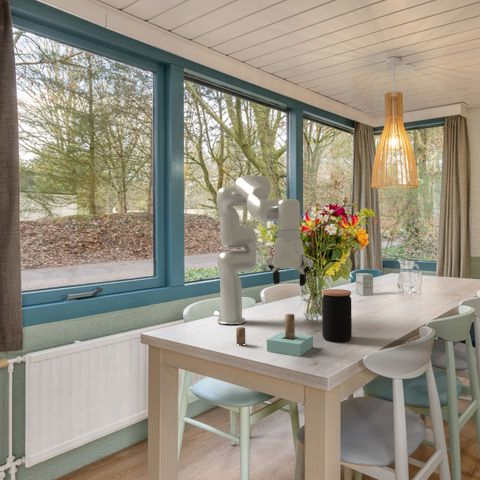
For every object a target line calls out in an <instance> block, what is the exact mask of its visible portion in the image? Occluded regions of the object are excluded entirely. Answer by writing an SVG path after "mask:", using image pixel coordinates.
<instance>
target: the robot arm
mask: <svg viewBox="0 0 480 480" xmlns="http://www.w3.org/2000/svg"><path fill="white" fill-rule="evenodd" d="M271 189H272V185H271V181H270V180H269V178H268V177H267V176H264V175H250V174H247V175H242V176H240V177H237V179H236V181H235V184H234V185H232V186H230V185H229V186H223V187H221V188H219V189H218V191H217V194H216V205H217V206H216V207H217V209H218V210H217V211H218V214H219V229H220V230H219V231H220V233H219V236H220V243H221V246H222V247H223V248H228V249H231V248H233V249H234V248H235V249H237V248H240V249H241V248H242V250H226V251H223V252H221V253H220V254H219V255H218V256H217V261H216V262H217V268H218V273H219V288H220V289H219V292H220V295H219V296H220V297H219V298H220V300H219V301H220V302H219V303H220V305H219V306H220V311H218V310H217V311H214V313H213V316H214V317H218V319H217V322H218V324H219V323H222V324H238V323H243V322H245V321H247V319H246V318H245V317H243V302H242V301H243V293H242V291H243V289H242V287H243V285H242V280H241V278H240V277H239V276H238V274H237V273H242V272H243V273H244V272H245V273H246V272H252V271H253V270H255V268H256V267H257V237H256V231H255V230H254V228H252V227H251V226H248V225H240V215H239V213H238V211H237V209H236V208H235V207H246V208H247V211H248V213H249V214H250V215H251V216H252V217H254V219H256V220H258V221H261V222H267V221H268V222H269V221H270V222H271V221H275V222H277V231H275V232H274V236H277V238H276V239H275V240H274V241H275V242H274V247H273V256H271V257H268V258H267V259H266V260H265V262H266V264H267V266H268V268H269V270H270V271H271V273H272V279H273V281H272V282H273V284H274V285H279V284H280V283H281V282H280V276H281V275H280V273H281V272H280V271H279V270H280V269H289V270H291V269H295V270H296V269H297V270H298V271H299V273H300V274H299V286H300V287H303V286H306V283H307V273H309V271H310V270H311V269H312V266H313V265H314V260H311V259H310V258H308V257H307V256H305V250H304V249H305V248H304V244H303V239H302V238H301V206H300V205H301V203H300V201H299V200H298V199H295V198H285V199H283V198H282V199H269V196H270V193H271ZM305 263H306V264H307V265H306V267H305ZM217 322H216V323H217ZM245 323H246V322H245ZM222 324H221V325H222ZM243 324H244V323H243Z"/></svg>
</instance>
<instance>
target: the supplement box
mask: <svg viewBox="0 0 480 480" xmlns="http://www.w3.org/2000/svg"><path fill="white" fill-rule="evenodd" d="M355 286H356V287H355V294H356V295H359V296H362V297H367V296H369V295H370V296H373V295H374V274H372V273H367V272H364V273H362V272H360V273H359V272H358V273H356V274H355Z"/></svg>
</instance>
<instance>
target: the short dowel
mask: <svg viewBox="0 0 480 480" xmlns="http://www.w3.org/2000/svg"><path fill="white" fill-rule="evenodd" d="M235 330H236V331H235V332H236V333H235V334H236V336H235V337H236V345H237V344H239V345H243V344H246V328H245V327H243V326H240V327H236V329H235Z"/></svg>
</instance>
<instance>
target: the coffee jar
mask: <svg viewBox="0 0 480 480" xmlns="http://www.w3.org/2000/svg"><path fill="white" fill-rule="evenodd" d="M321 293H322V295H323V296H321V297H322V298H321V307H322V308H321V311H322V313H321V318H322V319H321V320H322V323H321V324H322V327H321V328H322V329H321V331H322V332H321V333H322V335H321V336H322V338H323V339H324V341H327V342H330V343H340V344H341V343H346V342H349V341H351V339H352V337H353V336H352V335H353V334H352V325H353V323H352V322H353V321H352V297H351V295H352V291H351V290H349V289H341V288H335V289H334V288H328V289H323V290H322V291H321Z"/></svg>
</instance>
